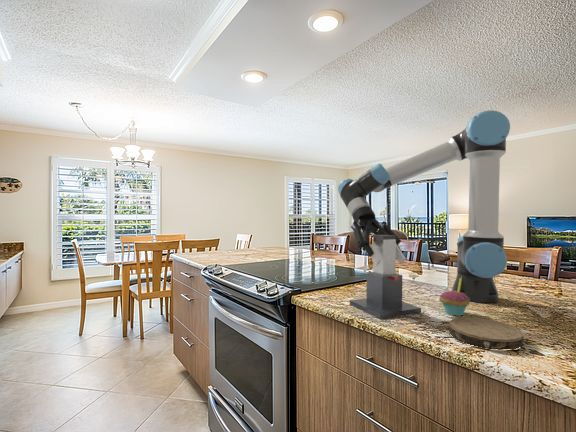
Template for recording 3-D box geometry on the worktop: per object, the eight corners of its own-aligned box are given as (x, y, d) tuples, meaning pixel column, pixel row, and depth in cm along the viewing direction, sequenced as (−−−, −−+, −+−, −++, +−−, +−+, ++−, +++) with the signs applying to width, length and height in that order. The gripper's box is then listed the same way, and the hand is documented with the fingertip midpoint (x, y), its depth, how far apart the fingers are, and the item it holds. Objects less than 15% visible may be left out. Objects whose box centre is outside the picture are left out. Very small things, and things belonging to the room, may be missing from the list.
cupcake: (462, 310, 104) (463, 273, 104) (475, 318, 96) (475, 278, 96) (435, 309, 105) (435, 272, 105) (445, 317, 97) (445, 278, 97)
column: (385, 299, 109) (385, 234, 109) (395, 303, 104) (395, 235, 104) (372, 301, 107) (373, 234, 107) (382, 305, 102) (383, 235, 102)
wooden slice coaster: (533, 342, 79) (534, 330, 79) (506, 359, 70) (506, 345, 70) (467, 324, 92) (467, 313, 92) (437, 336, 83) (437, 324, 83)
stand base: (387, 300, 116) (387, 268, 116) (421, 312, 101) (421, 276, 101) (349, 304, 110) (349, 271, 110) (380, 318, 95) (380, 280, 95)
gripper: (380, 219, 124) (411, 267, 109) (331, 219, 115) (357, 271, 101) (390, 205, 119) (423, 253, 104) (339, 204, 111) (368, 256, 96)
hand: (390, 262), depth 103 cm, fingers open, 9 cm apart
